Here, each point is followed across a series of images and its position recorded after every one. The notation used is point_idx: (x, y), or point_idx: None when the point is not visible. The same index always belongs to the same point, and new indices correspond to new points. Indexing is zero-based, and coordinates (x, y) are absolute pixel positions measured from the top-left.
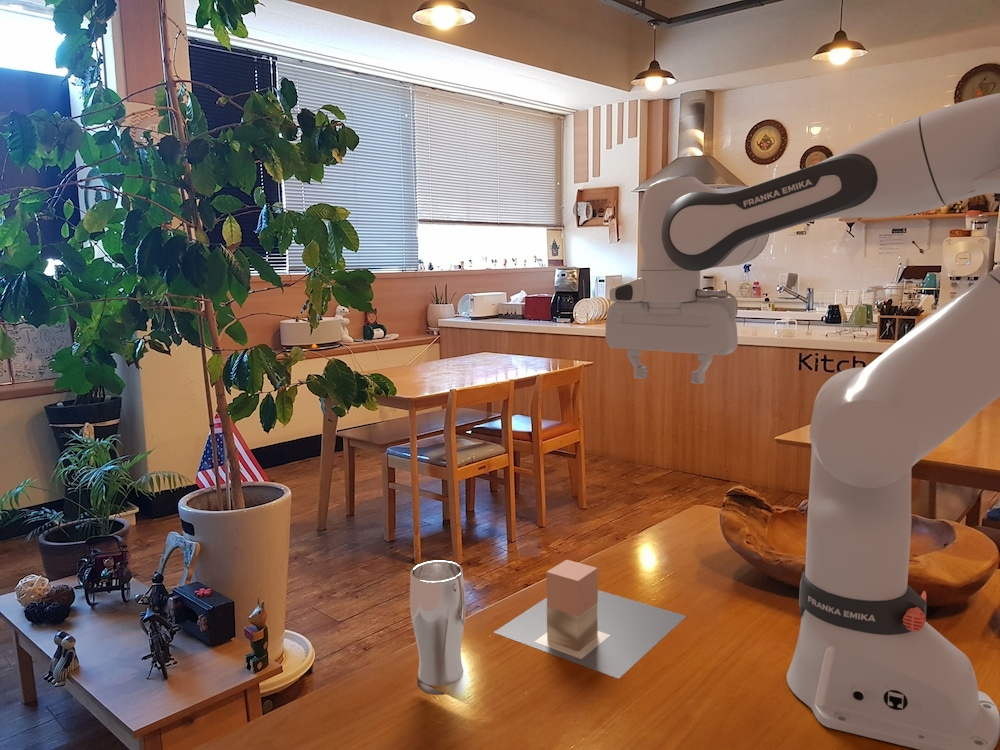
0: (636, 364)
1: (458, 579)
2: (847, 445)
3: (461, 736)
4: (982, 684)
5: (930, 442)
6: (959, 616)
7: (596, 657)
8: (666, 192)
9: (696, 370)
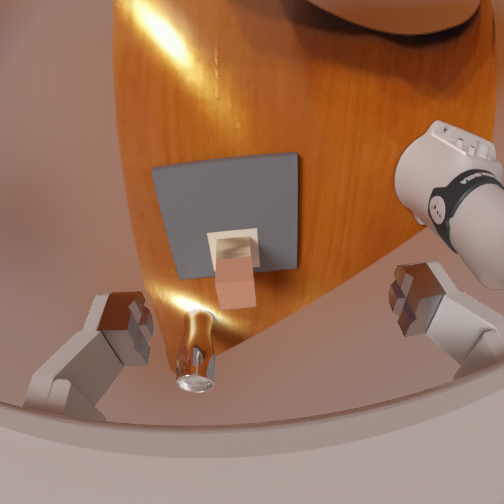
0: (114, 376)
1: (213, 380)
2: None
3: (248, 335)
4: (491, 121)
5: None
6: (479, 17)
7: (268, 258)
8: None
9: (423, 300)
